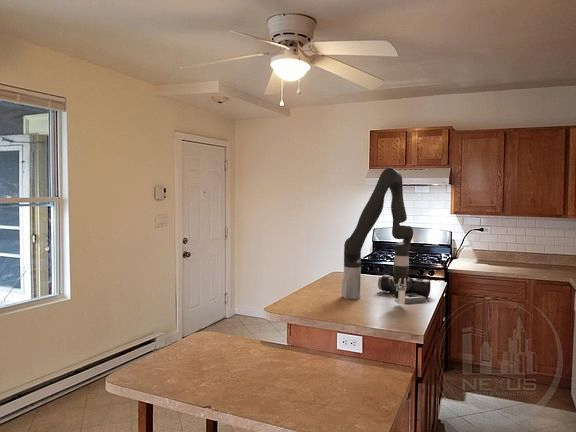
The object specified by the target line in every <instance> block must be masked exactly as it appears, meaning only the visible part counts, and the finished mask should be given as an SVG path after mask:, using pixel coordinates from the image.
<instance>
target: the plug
mask: <svg viewBox="0 0 576 432" xmlns="http://www.w3.org/2000/svg"><path fill="white" fill-rule="evenodd" d="M394 302H395V303H396V304H398V305H399V304H401V305H402V304H406V303H405V288H404V287H401V286H400V287H399V289H398V298H395V297H394Z"/></svg>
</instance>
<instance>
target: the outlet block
mask: <svg viewBox="0 0 576 432" xmlns="http://www.w3.org/2000/svg"><path fill="white" fill-rule="evenodd" d="M416 302H418V303H426V302H427V298H426V297H424V296H421V295H418V294H416V293H411V294H405V303H404V304H414V303H416Z"/></svg>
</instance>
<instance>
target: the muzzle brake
mask: <svg viewBox="0 0 576 432" xmlns="http://www.w3.org/2000/svg"><path fill="white" fill-rule="evenodd" d="M392 277H393V275H390V274H382V275H379V276H378V281H377V287H378V289H379V290H381V291H383V292H387V293H388V292H389V293H390V294H393V295H394V290H393V289H391V287H390V285H389V282H388V278H392ZM411 278H412V279H413V282H412V284H411V286H410V289H409V290H406V294H411V293H416V294H418V295H421V296H424V297H426V299H427V298H428V297H429V296H430V294H431V284H432V283H431V280H430V279H419V278H413V277H411ZM393 281H394V280H393ZM393 283H395V281H394V282H393ZM406 283H407V281H406ZM400 286H401V284H400ZM401 287H402V286H401Z"/></svg>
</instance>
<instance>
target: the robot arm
mask: <svg viewBox="0 0 576 432" xmlns="http://www.w3.org/2000/svg"><path fill="white" fill-rule="evenodd" d="M388 190H389V191H390V193H391V203H390V212H391V215H392V217H391V218H392V226H391V227H392V228H391V235H392V237H393V238H394V239H396V240H402V242H399V243H397V244H395V245H394V256H393V268H392V269H393V270H392V272H393V275H392V278H388V282H389V285H390V287H391V289H393V290H394V294H393V297H394V299H395V298H398V289H399V287H400V284H401V286H402V287H404V288H405V294H406V290H409V289H410V286H411V284H412V282H413V279H412V278H413V277H409V271H410V270H409V269H410V268H409V266H410V246H411V244H412V243H411V242H412V240H413V237H414V229H413V227H412V226H411V225H407V224H406V225H401V224H403V223H405V222H406V221H407V218H408V216H407V212H406V207H405V201H404V191H403V176H402V175H401V173H400V172H399V171H398V170H396V169H395V168H393V167H392V166H391V167H386V168H385V169H384V170H383V171H382V172H381V174H380V175H379V177H378V180H377V182H376V185H375V188H373V191H372V193H371V195H370V197H369V199H368V201H367V202H366V203H365V206H364V208H363V210H362V211H361V214H360V216H359V219H358V221H357V223H356V226H355V228H354V230H353V231H352V233H351V235H350V236H349V237H348V238H347V239H345V240H344V241H345V242H344V245H343V249H344V250H343V279H342V280H341V297H342V298H344V299H346V300H359V299H360V298H361V276H362V275H361V274H362V273H361V271H362V258H361V257H362V249H363V246H364V243H365V241H366V239H367V236H368V235H369V233H370V232H371V231H372V229H373V227H374V226H375V224H376V222H377V221H378V219H379V217H380V216H381V214H382V212H383V210H384V203H385V196H386V194H387V192H388ZM393 280H394V281H395V283H393V282H394V281H393ZM406 281H407V283H406Z"/></svg>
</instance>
